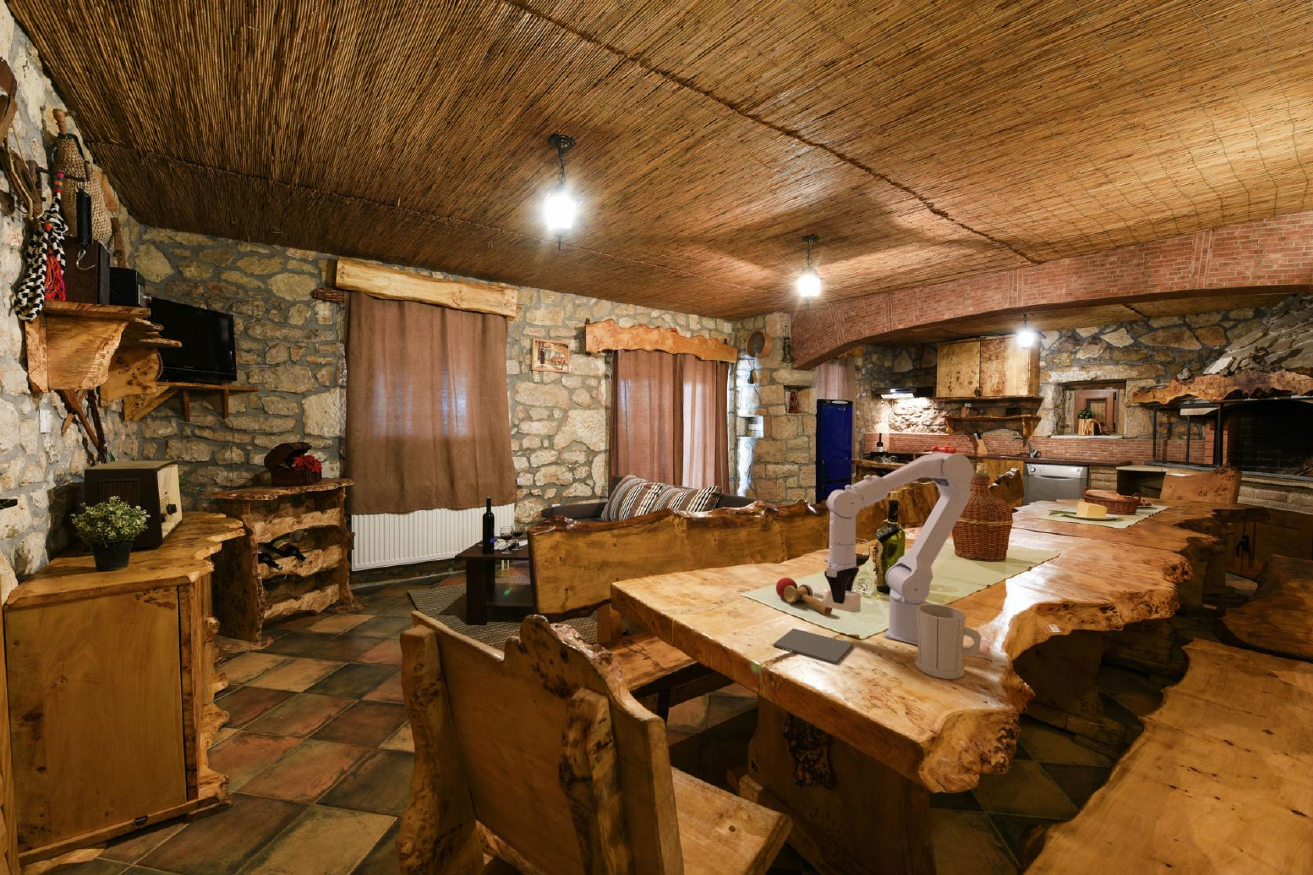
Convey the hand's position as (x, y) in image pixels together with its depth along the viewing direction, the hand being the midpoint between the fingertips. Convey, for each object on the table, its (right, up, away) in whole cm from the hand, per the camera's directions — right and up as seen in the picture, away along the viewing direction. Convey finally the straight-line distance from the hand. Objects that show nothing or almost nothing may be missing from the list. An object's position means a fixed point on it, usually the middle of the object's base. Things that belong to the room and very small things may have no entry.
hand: (841, 600), depth 124 cm
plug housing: (0, -2, 0) cm, 2 cm away
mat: (-8, -9, -5) cm, 13 cm away
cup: (+15, -9, -16) cm, 24 cm away
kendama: (-3, -8, +21) cm, 23 cm away
